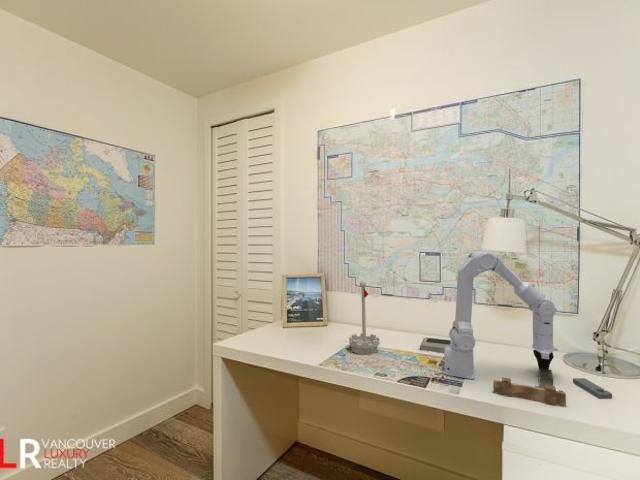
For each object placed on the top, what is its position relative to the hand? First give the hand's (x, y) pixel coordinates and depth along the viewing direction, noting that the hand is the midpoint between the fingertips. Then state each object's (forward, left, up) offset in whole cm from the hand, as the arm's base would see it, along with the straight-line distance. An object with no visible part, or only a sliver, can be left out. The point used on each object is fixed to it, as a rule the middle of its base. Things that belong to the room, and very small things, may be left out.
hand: (543, 373), depth 110 cm
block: (0, -8, -1) cm, 8 cm away
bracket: (+12, -5, -2) cm, 13 cm away
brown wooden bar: (-6, -19, -1) cm, 20 cm away
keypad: (-36, +12, -2) cm, 38 cm away
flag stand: (-64, -3, -1) cm, 65 cm away
